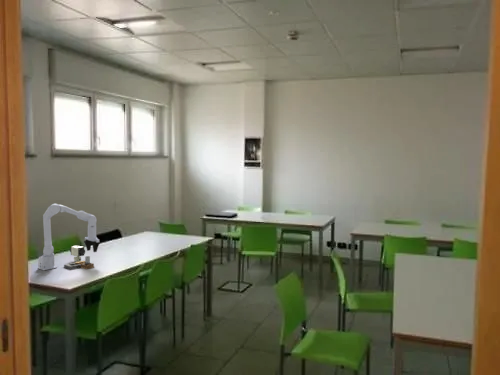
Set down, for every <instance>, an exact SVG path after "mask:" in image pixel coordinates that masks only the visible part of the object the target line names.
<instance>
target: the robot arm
mask: <svg viewBox="0 0 500 375" xmlns="http://www.w3.org/2000/svg"><path fill="white" fill-rule="evenodd" d="M85 211H86V210H75V209H74V208H70V207H68V206H66V205H63V204H58V203H52V204H51V205H49V206H48V207H47V209H46V210H45V212H44V213H43V215H42V220H43V221H42V222H43V223H42V224H43V238H44V239H43V242H44V246H43V250H42V252H43V254H42V255H41V256H39V257H38V259H37V262H38V267H37V269H39V270H42V271H48V270H53V269H57V266H55V253H54V250H55V248H54V246H53V242H52V241H53V240H52V227H51V226H52V225H51V224H52V223H51V222H52V221H51V220H52V219H51V218H53V216H55V215H57V214H58V213H68V214H71V215H73V216H76V218H77V219H78V220H81V221H83V222H87V236H85V237H84V240H83V243H84V245H85V248H86V251H91V248H92V250H93V253H97V251H98V248H99V246H100V244H101V242H100V239H99V238H98V237H97V222H98V220H97V217H96V216H95V214H92V213H88V212H85Z"/></svg>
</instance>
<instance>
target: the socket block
mask: <svg viewBox="0 0 500 375" xmlns="http://www.w3.org/2000/svg"><path fill="white" fill-rule="evenodd" d="M63 268H65V269H67V270H76V269H80V268H81V264H77V265H75V262H73V263H72V262H71V263H66V264H63ZM81 269H82V268H81Z"/></svg>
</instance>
